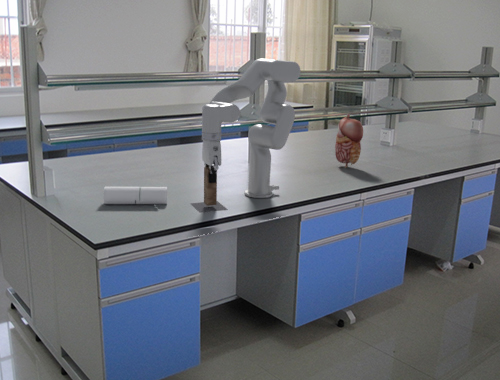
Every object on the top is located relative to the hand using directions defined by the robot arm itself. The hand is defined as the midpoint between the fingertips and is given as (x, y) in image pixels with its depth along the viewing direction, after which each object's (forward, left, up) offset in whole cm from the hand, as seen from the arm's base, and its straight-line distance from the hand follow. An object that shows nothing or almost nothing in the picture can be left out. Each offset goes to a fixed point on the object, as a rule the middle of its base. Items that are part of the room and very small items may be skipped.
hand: (210, 180), depth 210 cm
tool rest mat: (0, -1, -12) cm, 12 cm away
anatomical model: (-98, -44, -12) cm, 108 cm away
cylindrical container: (+15, -11, -8) cm, 20 cm away
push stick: (0, 0, -10) cm, 10 cm away
